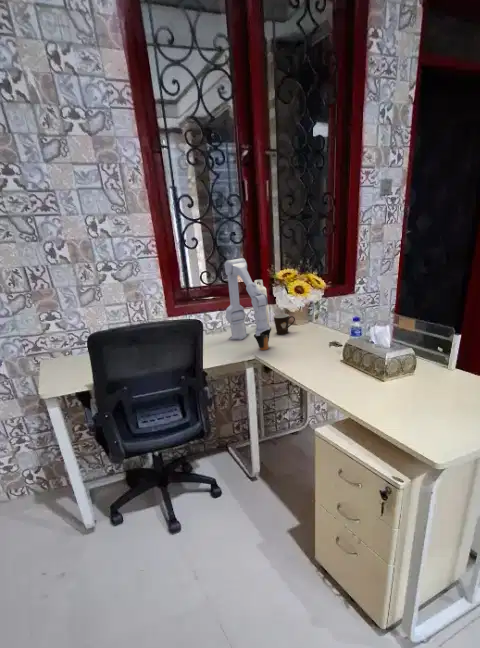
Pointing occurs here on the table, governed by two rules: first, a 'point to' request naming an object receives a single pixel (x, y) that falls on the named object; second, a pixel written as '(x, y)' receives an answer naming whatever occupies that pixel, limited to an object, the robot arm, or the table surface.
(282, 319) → the coffee mug
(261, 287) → the bottle
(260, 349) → the amber jar
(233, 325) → the robot arm
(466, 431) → the table surface
